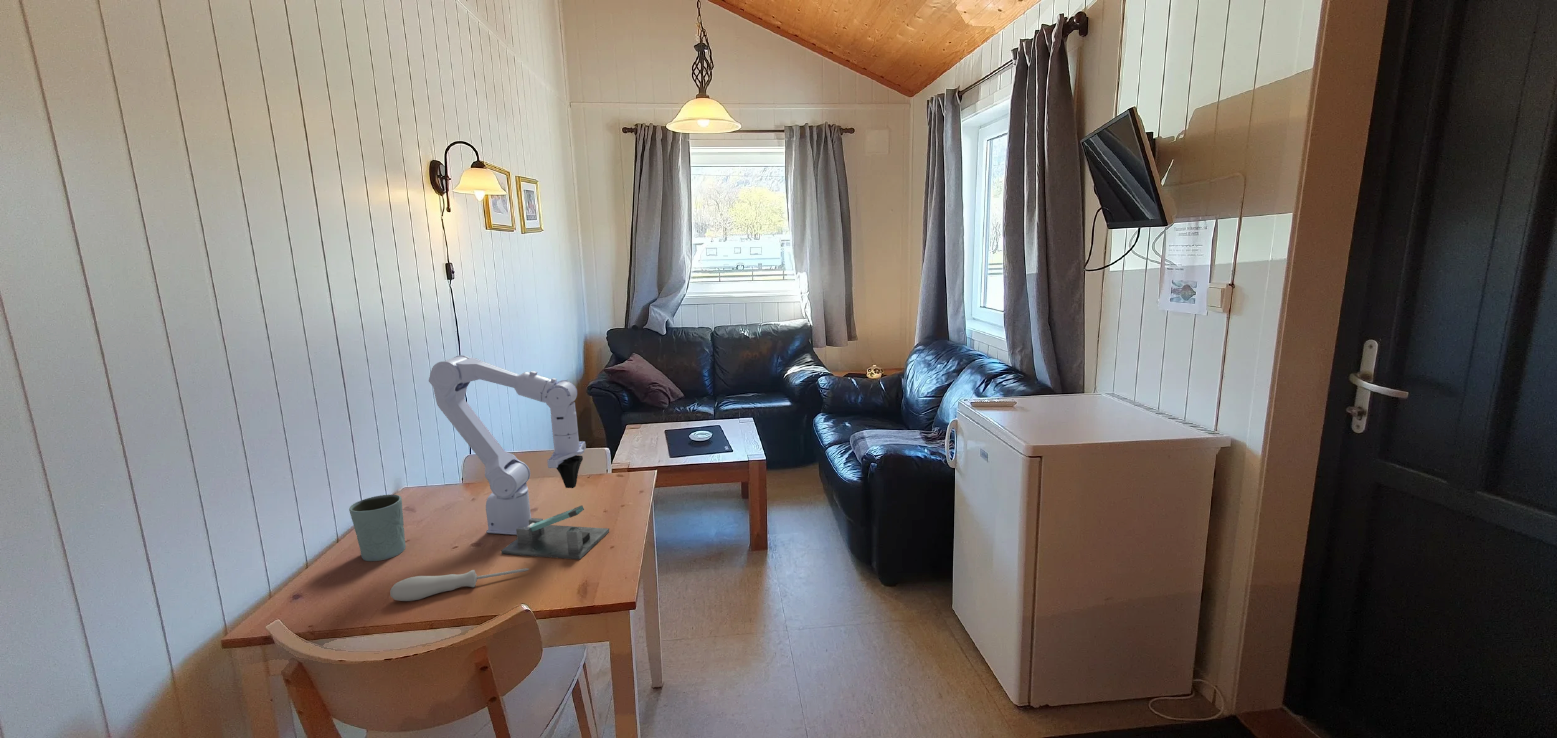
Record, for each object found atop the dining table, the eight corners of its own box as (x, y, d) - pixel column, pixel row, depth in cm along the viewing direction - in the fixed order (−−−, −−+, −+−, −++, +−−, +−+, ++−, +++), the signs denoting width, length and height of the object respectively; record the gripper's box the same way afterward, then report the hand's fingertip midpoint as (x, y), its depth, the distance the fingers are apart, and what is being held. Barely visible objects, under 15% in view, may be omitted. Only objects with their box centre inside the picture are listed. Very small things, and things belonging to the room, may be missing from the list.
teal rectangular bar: (525, 535, 147) (522, 529, 147) (532, 529, 150) (529, 523, 150) (577, 515, 143) (574, 509, 143) (584, 510, 146) (581, 504, 146)
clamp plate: (501, 553, 143) (498, 530, 142) (537, 527, 156) (534, 505, 155) (579, 559, 139) (577, 535, 138) (609, 531, 152) (607, 509, 151)
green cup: (381, 565, 139) (372, 513, 137) (345, 560, 142) (337, 509, 140) (419, 544, 149) (412, 495, 146) (385, 540, 152) (378, 492, 149)
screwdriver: (530, 584, 132) (530, 568, 131) (390, 609, 122) (388, 591, 121) (529, 569, 136) (528, 553, 135) (393, 592, 126) (390, 575, 125)
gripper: (565, 441, 144) (571, 499, 147) (595, 424, 158) (599, 477, 161) (536, 441, 145) (543, 497, 148) (568, 424, 159) (573, 476, 162)
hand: (570, 487), depth 154 cm, fingers closed
